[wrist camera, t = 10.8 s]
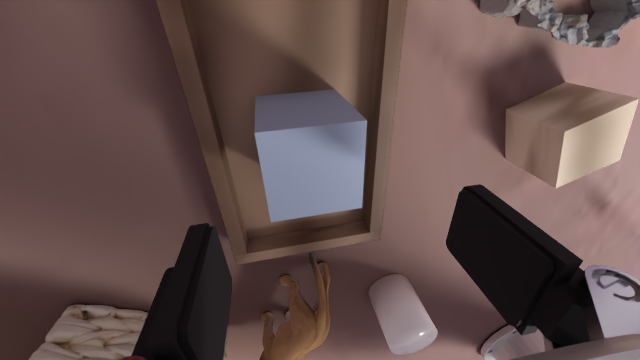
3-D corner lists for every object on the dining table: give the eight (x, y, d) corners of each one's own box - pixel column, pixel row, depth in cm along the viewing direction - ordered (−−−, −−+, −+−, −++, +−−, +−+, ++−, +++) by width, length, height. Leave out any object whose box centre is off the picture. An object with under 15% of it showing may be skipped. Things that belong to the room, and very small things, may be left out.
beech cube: (564, 81, 21) (639, 98, 17) (556, 134, 24) (619, 160, 20) (505, 108, 21) (564, 131, 17) (504, 158, 24) (555, 188, 20)
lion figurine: (296, 334, 33) (308, 430, 25) (252, 335, 31) (251, 439, 23) (335, 247, 26) (367, 342, 18) (281, 242, 24) (292, 345, 17)
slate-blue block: (335, 89, 17) (367, 120, 12) (335, 158, 20) (362, 207, 15) (255, 96, 16) (254, 132, 11) (267, 167, 19) (270, 222, 14)
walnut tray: (393, -66, 14) (416, -79, 12) (370, 221, 25) (380, 239, 23) (151, -65, 12) (131, -80, 10) (238, 243, 23) (236, 264, 21)
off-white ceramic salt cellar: (411, 270, 30) (442, 321, 25) (406, 297, 33) (432, 347, 28) (369, 278, 30) (392, 333, 25) (367, 305, 32) (387, 359, 27)
